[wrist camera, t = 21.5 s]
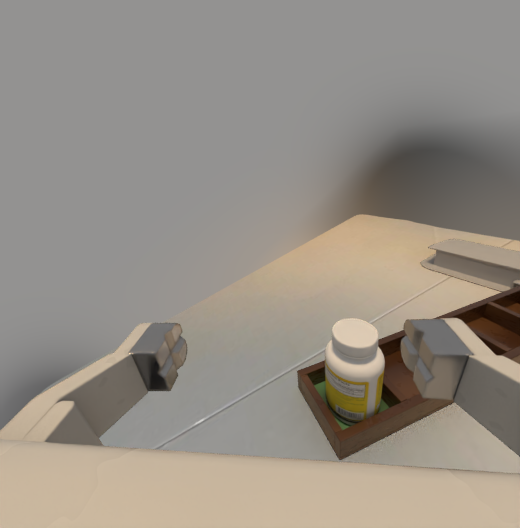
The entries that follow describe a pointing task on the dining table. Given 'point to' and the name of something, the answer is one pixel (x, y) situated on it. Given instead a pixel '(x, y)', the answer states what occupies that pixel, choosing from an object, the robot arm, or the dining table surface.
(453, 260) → the grey hinged lid tray
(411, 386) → the rack
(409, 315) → the dining table surface
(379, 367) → the supplement bottle
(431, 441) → the dining table surface
